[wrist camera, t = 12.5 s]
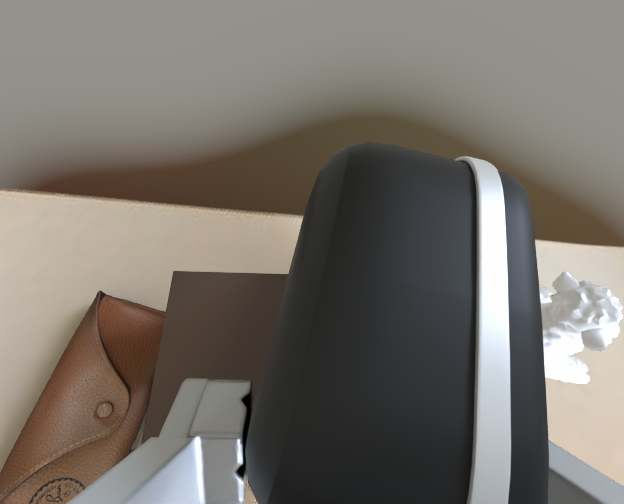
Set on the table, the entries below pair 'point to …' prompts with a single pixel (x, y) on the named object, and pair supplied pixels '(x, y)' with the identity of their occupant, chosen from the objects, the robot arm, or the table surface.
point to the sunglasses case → (87, 405)
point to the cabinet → (213, 334)
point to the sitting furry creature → (576, 325)
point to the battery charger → (406, 341)
